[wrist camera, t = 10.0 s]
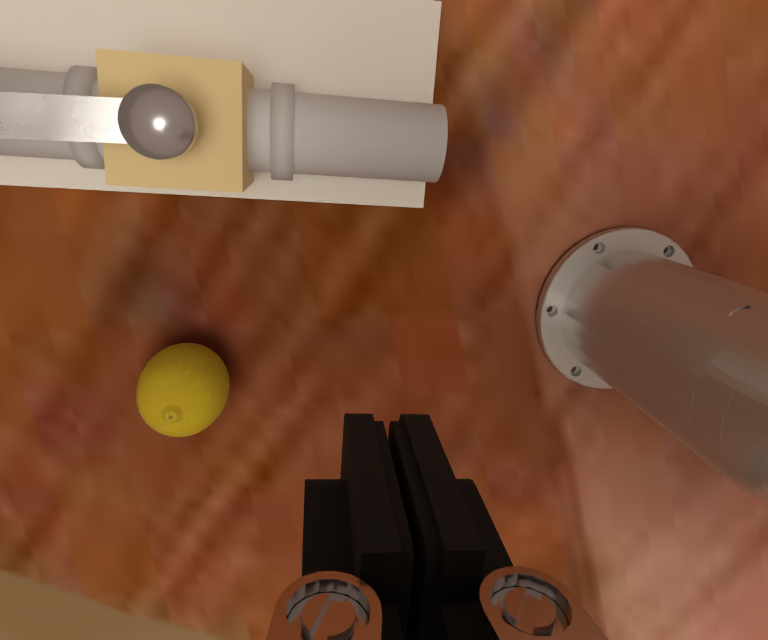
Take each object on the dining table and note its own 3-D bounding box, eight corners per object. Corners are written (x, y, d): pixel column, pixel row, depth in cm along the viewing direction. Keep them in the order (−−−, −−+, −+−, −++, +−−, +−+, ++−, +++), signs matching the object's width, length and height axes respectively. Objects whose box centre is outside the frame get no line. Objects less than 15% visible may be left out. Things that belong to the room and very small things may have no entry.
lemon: (163, 318, 38) (129, 363, 31) (244, 338, 39) (230, 385, 32) (147, 389, 40) (111, 449, 32) (226, 406, 41) (209, 467, 33)
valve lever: (197, 88, 25) (189, 85, 23) (201, 159, 25) (194, 161, 24) (-177, 68, 22) (-215, 62, 21) (-158, 146, 23) (-193, 146, 22)
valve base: (434, 8, 35) (487, -43, 25) (417, 204, 38) (457, 227, 28) (-68, -48, 30) (-246, -137, 20) (-33, 179, 34) (-171, 196, 24)
